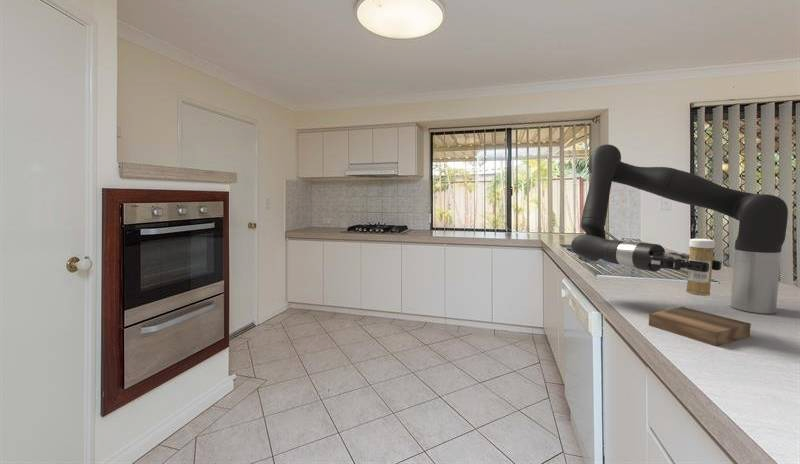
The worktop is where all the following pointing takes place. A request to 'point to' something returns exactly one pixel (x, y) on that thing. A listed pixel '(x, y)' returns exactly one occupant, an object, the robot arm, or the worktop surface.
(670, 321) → the walnut base
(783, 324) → the worktop surface
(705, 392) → the worktop surface
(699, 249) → the spice jar
